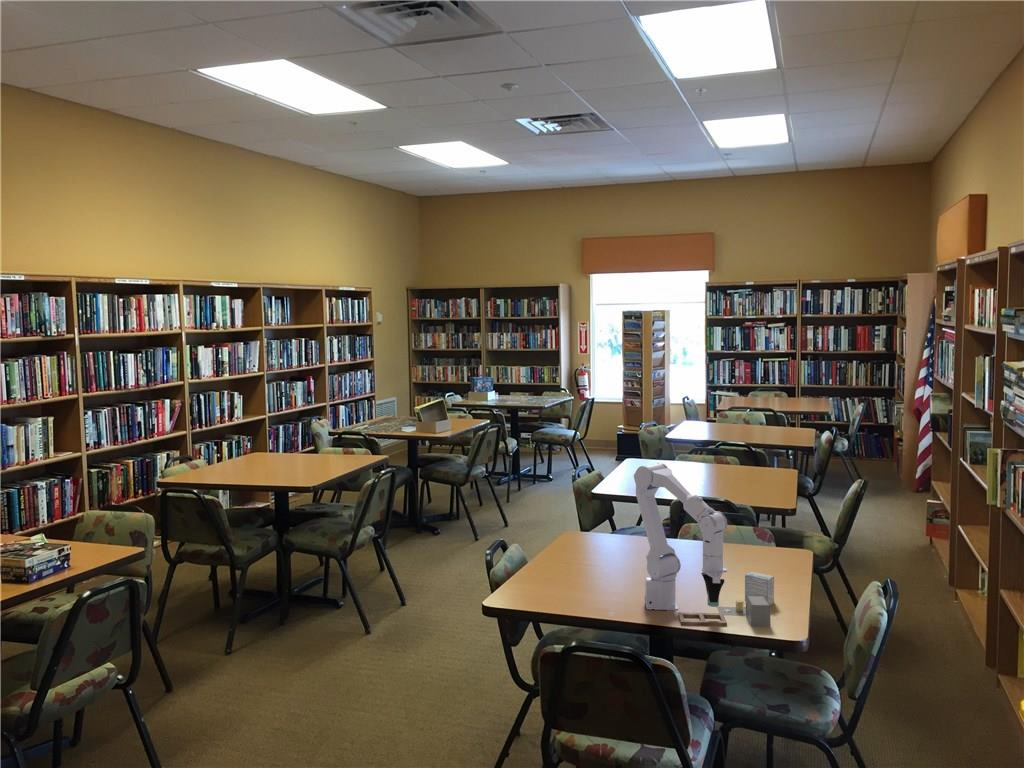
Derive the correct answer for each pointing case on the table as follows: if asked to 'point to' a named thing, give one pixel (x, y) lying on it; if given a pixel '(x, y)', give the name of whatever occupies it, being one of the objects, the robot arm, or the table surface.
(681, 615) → the walnut board
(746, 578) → the medicine box
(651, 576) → the robot arm
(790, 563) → the table surface
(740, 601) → the tile
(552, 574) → the table surface
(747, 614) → the housing
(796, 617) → the table surface
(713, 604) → the teal peg
